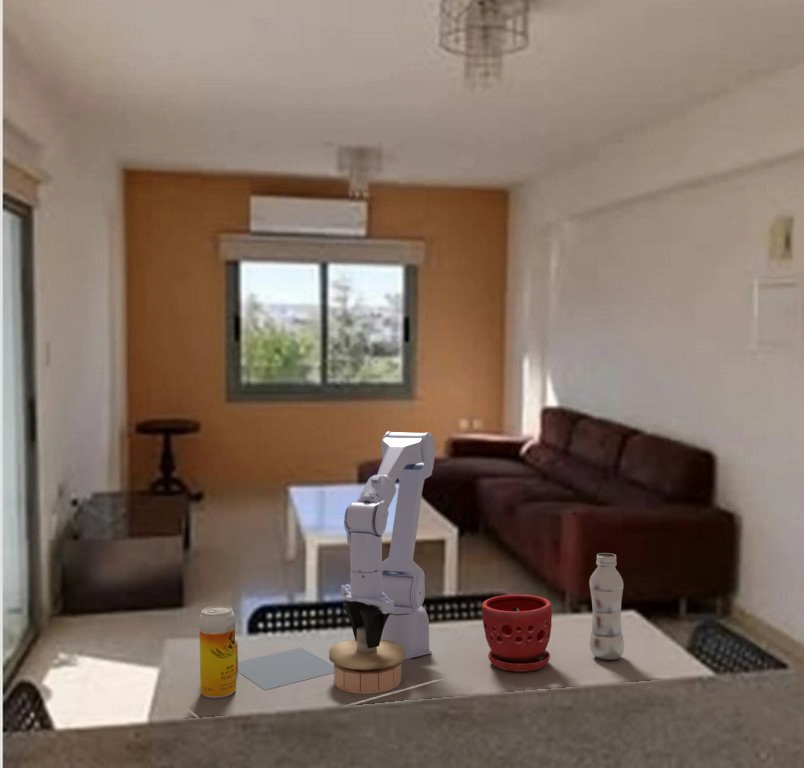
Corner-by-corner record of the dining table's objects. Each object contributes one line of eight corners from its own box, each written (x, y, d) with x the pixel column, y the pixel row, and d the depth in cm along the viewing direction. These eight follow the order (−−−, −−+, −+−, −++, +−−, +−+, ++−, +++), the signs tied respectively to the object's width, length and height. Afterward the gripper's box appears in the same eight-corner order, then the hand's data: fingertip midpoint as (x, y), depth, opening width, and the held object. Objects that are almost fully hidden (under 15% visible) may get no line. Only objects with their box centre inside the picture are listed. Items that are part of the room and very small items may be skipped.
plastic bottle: (605, 666, 171) (605, 560, 170) (582, 655, 177) (582, 553, 176) (631, 660, 174) (631, 556, 173) (608, 649, 180) (608, 549, 179)
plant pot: (548, 652, 179) (548, 592, 178) (555, 677, 165) (555, 612, 165) (481, 651, 179) (481, 591, 179) (483, 676, 166) (483, 611, 166)
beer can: (228, 702, 155) (226, 615, 155) (195, 700, 156) (193, 614, 156) (241, 689, 161) (239, 605, 161) (209, 686, 162) (207, 604, 162)
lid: (380, 639, 173) (380, 613, 173) (418, 660, 161) (418, 632, 161) (316, 652, 166) (315, 625, 165) (351, 674, 154) (351, 645, 154)
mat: (301, 649, 182) (300, 647, 182) (342, 672, 169) (342, 670, 169) (227, 666, 173) (226, 664, 173) (265, 692, 160) (265, 689, 160)
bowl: (377, 667, 172) (376, 646, 172) (414, 686, 162) (413, 664, 162) (322, 681, 165) (321, 659, 165) (357, 702, 155) (357, 679, 155)
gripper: (326, 564, 166) (327, 637, 167) (369, 580, 155) (370, 659, 155) (358, 558, 170) (359, 630, 171) (403, 574, 159) (404, 650, 159)
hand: (367, 643), depth 163 cm, fingers closed on lid, 3 cm apart
